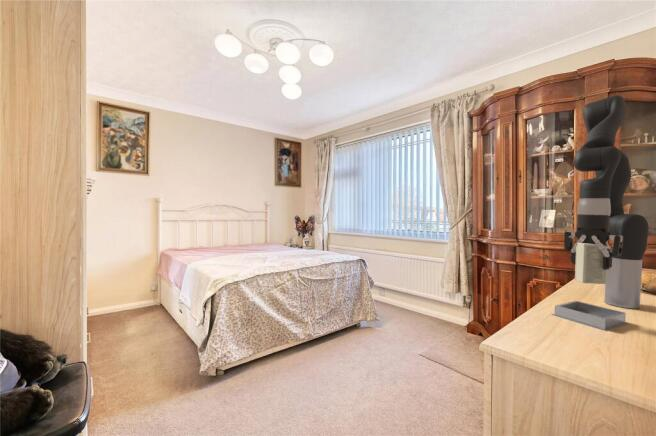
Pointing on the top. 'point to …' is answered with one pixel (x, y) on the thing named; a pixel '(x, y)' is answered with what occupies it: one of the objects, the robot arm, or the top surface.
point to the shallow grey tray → (608, 320)
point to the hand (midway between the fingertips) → (590, 266)
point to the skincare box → (589, 264)
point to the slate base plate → (596, 327)
